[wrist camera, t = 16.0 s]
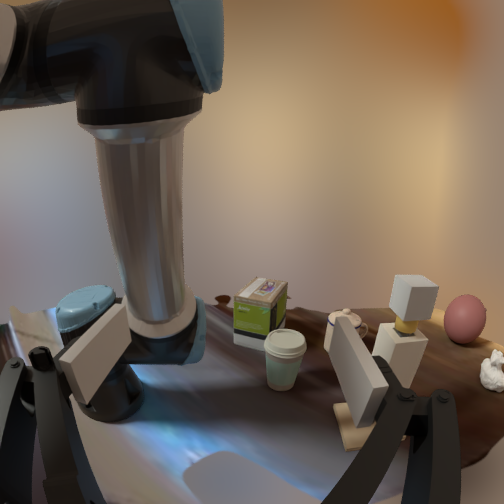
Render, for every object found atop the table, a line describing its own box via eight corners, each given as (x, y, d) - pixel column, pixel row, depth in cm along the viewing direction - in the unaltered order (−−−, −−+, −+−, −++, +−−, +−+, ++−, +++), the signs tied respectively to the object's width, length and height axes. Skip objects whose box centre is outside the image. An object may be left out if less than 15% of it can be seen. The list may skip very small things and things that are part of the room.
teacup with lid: (327, 358, 63) (335, 318, 60) (319, 340, 72) (325, 302, 69) (369, 354, 63) (379, 316, 61) (357, 337, 72) (365, 301, 69)
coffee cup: (308, 384, 54) (316, 339, 51) (279, 401, 48) (285, 355, 46) (281, 366, 60) (286, 323, 57) (253, 380, 55) (255, 335, 52)
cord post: (384, 427, 37) (439, 286, 30) (361, 432, 38) (411, 286, 31) (377, 410, 42) (421, 275, 35) (354, 413, 42) (395, 274, 35)
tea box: (253, 320, 82) (256, 275, 79) (285, 327, 79) (289, 281, 75) (232, 344, 69) (233, 293, 65) (268, 353, 65) (272, 301, 62)
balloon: (491, 345, 57) (506, 302, 54) (455, 356, 57) (473, 308, 53) (466, 325, 72) (478, 286, 69) (429, 332, 71) (442, 288, 68)
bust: (473, 379, 48) (470, 355, 46) (493, 362, 46) (490, 337, 45) (492, 404, 36) (492, 382, 35) (513, 385, 35) (515, 360, 33)
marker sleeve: (407, 390, 34) (428, 339, 32) (376, 395, 35) (395, 343, 32) (394, 370, 40) (410, 321, 38) (365, 373, 40) (380, 323, 38)
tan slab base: (404, 439, 34) (406, 436, 34) (345, 451, 34) (347, 448, 34) (385, 400, 46) (386, 397, 46) (333, 406, 46) (334, 403, 46)
